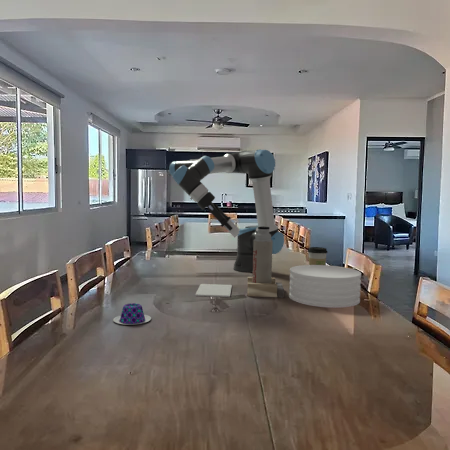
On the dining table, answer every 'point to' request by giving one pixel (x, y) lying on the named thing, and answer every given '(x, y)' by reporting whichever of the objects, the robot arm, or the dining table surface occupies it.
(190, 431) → the dining table surface
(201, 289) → the grey mat
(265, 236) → the thermos bottle
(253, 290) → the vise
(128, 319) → the pudding
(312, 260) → the coffee cup
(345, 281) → the plate stack
